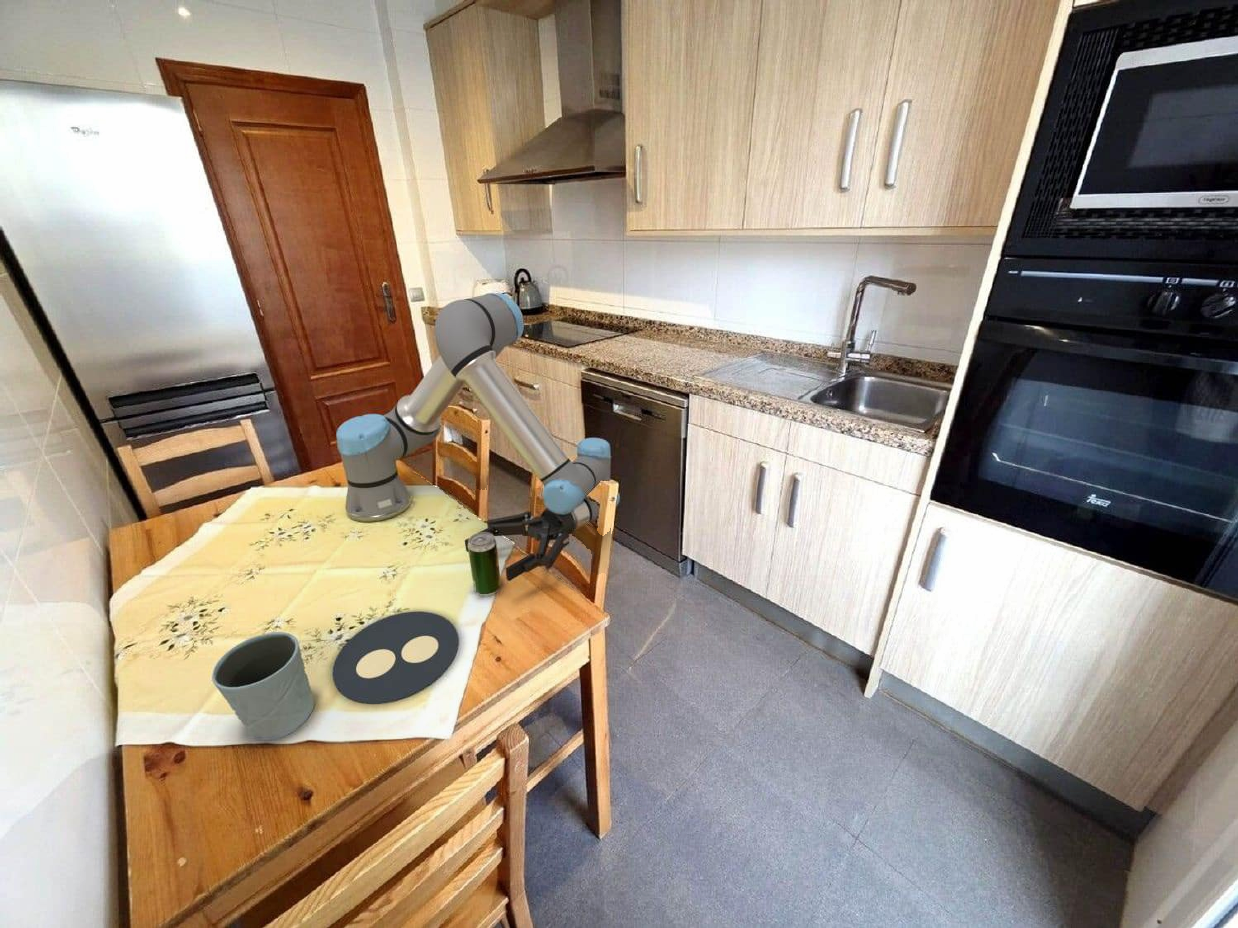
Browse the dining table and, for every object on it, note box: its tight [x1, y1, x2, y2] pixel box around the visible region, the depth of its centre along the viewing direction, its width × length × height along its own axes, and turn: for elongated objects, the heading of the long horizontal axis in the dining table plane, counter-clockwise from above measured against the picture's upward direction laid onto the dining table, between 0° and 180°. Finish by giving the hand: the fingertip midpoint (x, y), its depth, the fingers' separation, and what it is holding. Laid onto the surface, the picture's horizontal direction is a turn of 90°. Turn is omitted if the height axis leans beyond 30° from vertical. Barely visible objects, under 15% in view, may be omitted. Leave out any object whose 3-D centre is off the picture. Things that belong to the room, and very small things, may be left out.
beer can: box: [467, 531, 502, 597], centre depth 99 cm, size 5×5×12 cm
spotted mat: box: [332, 611, 459, 705], centre depth 86 cm, size 20×20×1 cm
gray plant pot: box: [211, 631, 315, 742], centre depth 73 cm, size 10×10×12 cm
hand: (485, 560), depth 99 cm, fingers open, 13 cm apart
